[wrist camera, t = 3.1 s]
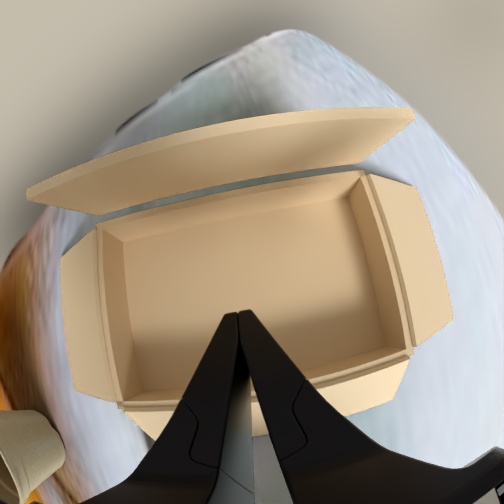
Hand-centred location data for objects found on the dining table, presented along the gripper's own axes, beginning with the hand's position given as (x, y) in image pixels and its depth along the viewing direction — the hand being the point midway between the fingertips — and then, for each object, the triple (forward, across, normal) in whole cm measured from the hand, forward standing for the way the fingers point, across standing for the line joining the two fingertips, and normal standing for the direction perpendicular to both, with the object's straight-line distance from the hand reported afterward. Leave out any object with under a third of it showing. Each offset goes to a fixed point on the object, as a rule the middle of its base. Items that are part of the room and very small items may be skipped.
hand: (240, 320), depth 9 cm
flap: (+10, 0, -2) cm, 10 cm away
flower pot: (0, +22, +14) cm, 26 cm away
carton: (+7, 0, +7) cm, 10 cm away
